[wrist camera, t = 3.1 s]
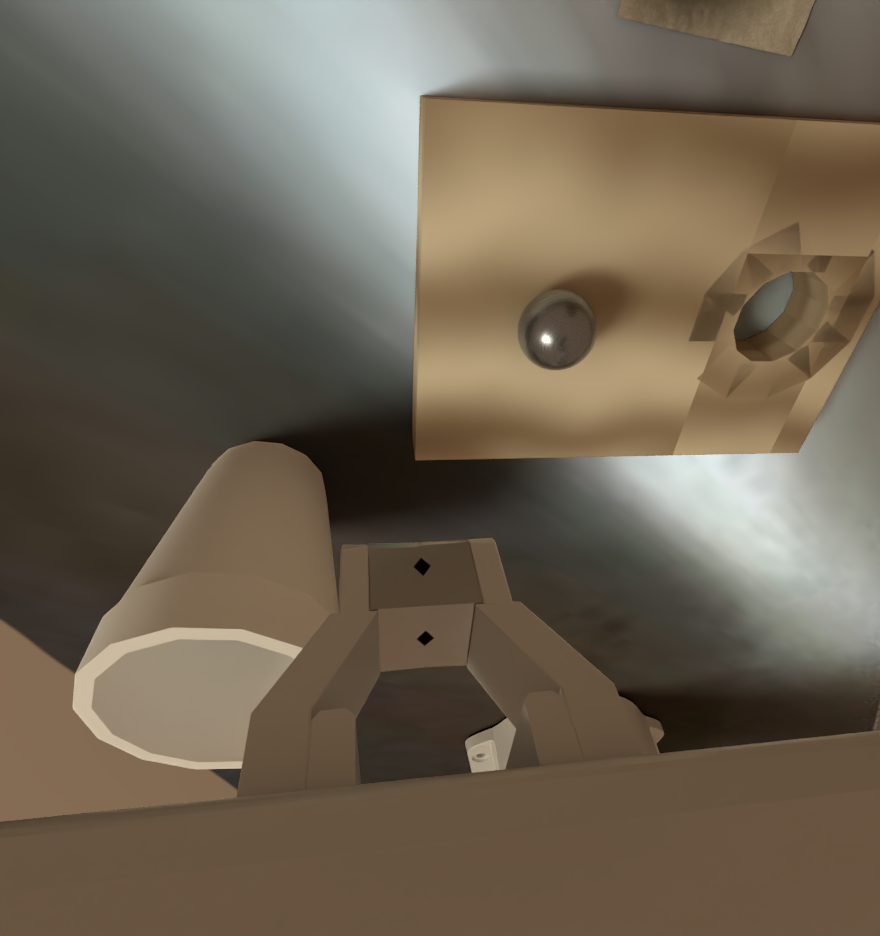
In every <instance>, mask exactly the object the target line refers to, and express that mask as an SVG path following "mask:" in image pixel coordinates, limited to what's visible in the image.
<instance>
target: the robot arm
mask: <svg viewBox="0 0 880 936" xmlns="http://www.w3.org/2000/svg"><path fill="white" fill-rule="evenodd" d="M458 665H467V668H468V669H469V670H470V672H471V673H472V674H473V675H474V677H475V678H476V679H477V680H478V682H479V683H480V684H481V686H482V687H483V688H484V689H485V691H486V692H487V693H488V694H489V696H490V697H491V698H492V699H493V701H494V702H495V703H496V704H497V706H498V707H499V708H500V709H501V711H502V712H503V713H504V714H505V716H506V717H507V718H506V719H505V720H503V721H502V722H501V723H499V724H498V725H496V726H495V727H493V728H490V729H488V730H485V731H483V732H480V733H478V734H475V735H473V736H471V737H469V738H468V739H467V740H466V741H465V746H466V750H467V755H468V759H469V763H470V767H471V771H472V773H466V774H456V775H446V776H437V777H427V778H418V779H408V780H398V781H389V782H379V783H370V784H360V771H359V758H358V745H357V732H356V717H357V716H358V714H359V712H360V710H361V708H362V707H363V705H364V703H365V701H366V699H367V697H368V696H369V694H370V692H371V690H372V688H373V687H374V685H375V683H376V681H377V679H378V677H379V676H380V672H383V671H392V670H402V669H411V668H421V667H438V666H458ZM663 736H664V731H663V728H662V725H661V723H660V722H659V721H658V720H656V719H653V718H650V717H647V716H644V715H643V714H642V713H641V712H640V710H639V709H638V708H637V706H636V705H635V704H634V703H632V702H631V701H629V700H627V699H625V698H623V697H620V696H619V695H618V692H617V690H616V687H615V685H614V683H613V682H611V681H610V680H609V679H608V678H607V677H606V676H605V675H603V674H602V673H601V672H600V671H599V670H598V669H597V668H595V667H594V666H593V665H592V664H591V663H590V662H589V661H587V660H586V659H585V658H584V657H583V656H582V655H581V654H579V653H578V652H577V651H576V650H575V649H574V648H572V647H571V646H570V645H569V644H568V643H567V642H566V641H564V640H563V639H562V638H561V637H560V636H559V635H558V634H556V633H555V632H554V631H553V630H552V629H551V628H550V627H548V626H547V625H546V624H545V623H544V622H543V621H542V620H540V619H539V618H538V617H537V616H536V615H535V614H534V613H532V612H531V611H530V610H529V609H528V608H527V607H526V606H524V605H523V604H522V603H521V602H512V598H511V595H510V591H509V588H508V584H507V581H506V578H505V574H504V571H503V567H502V564H501V560H500V557H499V553H498V550H497V546H496V543H495V541H494V540H493V539H492V538H483V539H468V540H450V541H432V542H418V543H385V544H369V551H368V545H342V548H341V559H340V585H339V612H338V613H332V614H330V615H329V616H328V618H327V619H326V620H325V621H324V623H323V624H322V625H321V626H320V628H319V629H318V630H317V631H316V633H315V634H314V635H313V636H312V638H311V639H310V640H309V641H308V643H307V644H306V645H305V646H304V648H303V649H302V650H301V651H300V653H299V654H298V655H297V656H296V658H295V659H294V660H293V662H292V663H291V664H290V665H289V667H288V668H287V669H286V670H285V672H284V673H283V674H282V675H281V677H280V678H279V679H278V680H277V682H276V683H275V684H274V685H273V687H272V688H271V689H270V690H269V692H268V693H267V694H266V695H265V697H264V698H263V699H262V700H261V702H260V703H259V704H258V705H257V707H256V708H255V709H254V711H253V712H252V713H251V716H250V722H249V728H248V734H247V739H246V745H245V751H244V757H243V763H242V769H241V774H240V780H239V786H238V792H237V797H236V798H225V799H216V800H206V801H197V802H187V803H177V804H168V805H158V806H148V807H139V808H129V809H120V810H110V811H101V812H91V813H81V814H72V815H62V816H52V817H43V818H33V819H23V820H14V821H4V822H0V936H880V731H871V732H861V733H852V734H842V735H833V736H823V737H813V738H804V739H794V740H785V741H775V742H765V743H756V744H746V745H737V746H727V747H717V748H708V749H698V750H689V751H679V752H669V753H659V750H658V747H657V743H658V742H659V741H660V739H661V738H662V737H663Z"/></svg>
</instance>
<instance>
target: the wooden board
mask: <svg viewBox="0 0 880 936" xmlns="http://www.w3.org/2000/svg"><path fill="white" fill-rule="evenodd" d="M788 272H792V274H793V286H794V290H793V292H792V295H791V297H790V299H789V302H788V304H787V306H786V308H785V311H784V312H783V313H782V314H781V315H780V316H779V317H778V318H777V319H776V320H775V321H774V322H773V323H772V324H771V325H770V327H769V328H768V329H767V330H765V331H763V332H761V333H759V334H757V335H755V336H753V337H750V338H748V339H746V340H744V341H739V340H735V337H734V331H733V330H734V328H735V325H736V322H737V320H738V317H739V315H740V312H741V310H742V307H743V305H744V304H745V303H746V302H747V301H748V300H749V299H750V298H751V297H752V296H753V295H754V294H755V293H756V292H757V291H758V290H759V288H760V287H761V286H762V285H763V284H765V283H767V282H769V281H771V280H773V279H775V278H777V277H779V276H782V275H784V274H786V273H788ZM559 289H562V290H569V291H572V292H575V293H577V294H579V295H581V296H582V297H583V298H584V299H586V300H587V301H588V302H589V304H590V305H591V307H592V308H593V310H594V312H595V315H596V318H597V323H598V333H597V338H596V341H595V344H594V346H593V348H592V350H591V351H590V353H589V354H588V355H587V356H586V358H585V359H583V360H582V361H581V362H580V363H578V364H577V365H575V366H573V367H571V368H568V369H564V370H547V369H543V368H541V367H538V366H536V365H535V364H533V363H532V362H531V361H530V360H529V359H528V358H527V357H526V356H525V355H524V353H523V352H522V350H521V347H520V345H519V341H518V333H517V329H518V323H519V319H520V316H521V314H522V312H523V310H524V309H525V307H526V306H527V305H528V304H529V303H530V302H531V301H532V300H533V299H534V298H535V297H537V296H538V295H540V294H542V293H544V292H547V291H550V290H559ZM879 302H880V123H877V122H860V121H843V120H826V119H809V118H792V117H775V116H758V115H741V114H724V113H707V112H690V111H673V110H656V109H639V108H622V107H605V106H588V105H571V104H554V103H537V102H520V101H503V100H486V99H469V98H451V97H434V96H420V123H419V164H418V205H417V246H416V288H415V329H414V370H413V411H412V438H413V446H414V455H415V460H458V459H508V458H557V457H606V456H655V455H705V454H754V453H798V452H799V450H800V448H801V446H802V445H803V443H804V441H805V439H806V437H807V435H808V433H809V432H810V430H811V428H812V426H813V424H814V422H815V421H816V419H817V417H818V415H819V413H820V411H821V409H822V408H823V406H824V404H825V402H826V400H827V398H828V396H829V395H830V393H831V391H832V389H833V387H834V385H835V383H836V382H837V380H838V378H839V376H840V374H841V372H842V370H843V369H844V367H845V365H846V363H847V361H848V359H849V358H850V356H851V354H852V352H853V350H854V348H855V346H856V345H857V343H858V341H859V339H860V337H861V335H862V333H863V332H864V330H865V328H866V326H867V324H868V322H869V320H870V319H871V317H872V315H873V313H874V311H875V309H876V307H877V306H878V304H879Z"/></svg>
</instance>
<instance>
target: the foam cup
mask: <svg viewBox="0 0 880 936" xmlns="http://www.w3.org/2000/svg"><path fill="white" fill-rule="evenodd" d="M338 612H339V609H338V600H337V591H336V581H335V572H334V562H333V553H332V544H331V534H330V525H329V516H328V506H327V498H326V491H325V487H324V482H323V477H322V473H321V472H320V470H319V469H318V468H317V467H316V466H315V465H314V464H313V462H312V461H311V460H310V459H309V458H308V457H307V456H306V455H305V454H303V453H301V452H299V451H297V450H294V449H292V448H290V447H288V446H286V445H284V444H282V443H271V442H259V441H252V442H249V443H246V444H242V445H239V446H236V447H232V448H229V449H228V450H227V451H226V452H225V453H224V454H223V455H221V456H220V457H219V458H218V459H217V460H216V461H215V462H214V463H213V464H212V467H211V468H210V469H209V470H208V471H207V472H206V474H205V475H204V477H203V478H202V480H201V481H200V483H199V484H198V486H197V487H196V489H195V490H194V492H193V493H192V495H191V496H190V498H189V499H188V501H187V502H186V504H185V505H184V507H183V508H182V510H181V511H180V513H179V514H178V516H177V517H176V519H175V520H174V522H173V523H172V525H171V526H170V528H169V529H168V531H167V532H166V534H165V535H164V537H163V538H162V539H161V541H160V542H159V544H158V545H157V547H156V548H155V550H154V551H153V553H152V554H151V556H150V557H149V559H148V560H147V562H146V563H145V565H144V566H143V568H142V569H141V571H140V572H139V574H138V575H137V577H136V578H135V580H134V581H133V583H132V584H131V586H130V587H129V589H128V590H127V592H126V593H125V595H124V596H123V598H122V599H121V601H120V602H119V603H118V604H117V605H115V606H114V607H113V608H112V609H111V610H110V611H109V612H108V613H106V614H105V615H104V616H103V618H102V620H101V622H100V624H99V626H98V628H97V630H96V632H95V634H94V636H93V638H92V640H91V642H90V644H89V646H88V649H87V651H86V653H85V655H84V657H83V659H82V661H81V663H80V665H79V667H78V669H77V671H76V673H75V683H74V694H73V706H72V708H73V710H74V711H75V712H76V713H77V714H78V716H79V717H80V718H81V719H82V720H83V721H84V723H85V724H86V725H87V726H88V727H89V729H90V730H91V731H92V732H93V733H94V734H95V736H96V737H97V738H98V739H100V740H102V741H104V742H106V743H109V744H111V745H113V746H115V747H117V748H119V749H121V750H123V751H125V752H127V753H130V754H132V755H134V756H136V757H138V758H140V759H143V760H148V761H153V762H158V763H164V764H170V765H174V766H180V767H186V768H191V769H232V768H242V763H243V757H244V751H245V745H246V739H247V734H248V728H249V722H250V716H251V713H252V712H253V711H254V709H255V708H256V707H257V705H258V704H259V703H260V702H261V700H262V699H263V698H264V697H265V695H266V694H267V693H268V692H269V690H270V689H271V688H272V687H273V685H274V684H275V683H276V682H277V680H278V679H279V678H280V677H281V675H282V674H283V673H284V672H285V670H286V669H287V668H288V667H289V665H290V664H291V663H292V662H293V660H294V659H295V658H296V656H297V655H298V654H299V653H300V651H301V650H302V649H303V648H304V646H305V645H306V644H307V643H308V641H309V640H310V639H311V638H312V636H313V635H314V634H315V633H316V631H317V630H318V629H319V628H320V626H321V625H322V624H323V623H324V621H325V620H326V619H327V618H328V616H329V615H330V614H332V613H338Z"/></svg>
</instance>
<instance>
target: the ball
mask: <svg viewBox="0 0 880 936" xmlns="http://www.w3.org/2000/svg"><path fill="white" fill-rule="evenodd" d="M517 333H518V341H519V345H520V347H521V350H522V352H523V353H524V355H525V356H526V357H527V358H528V359H529V360H530V361H531V362H532V363H533V364H535V365H536V366H538V367H541V368H543V369H547V370H564V369H568V368H571V367H573V366H575V365H577V364H578V363H580V362H581V361H582V360H583V359H585V358H586V356H587V355H588V354H589V353H590V351H591V350H592V348H593V346H594V344H595V341H596V338H597V333H598V323H597V318H596V315H595V312H594V310H593V308H592V307H591V305H590V304H589V302H588V301H587V300H586V299H584V298H583V297H582V296H581V295H579V294H577V293H575V292H572V291H569V290H562V289H559V290H550V291H547V292H544V293H542V294H540V295H538V296H537V297H535V298H534V299H533V300H532V301H531V302H530V303H529V304H528V305H527V306H526V307H525V309H524V310H523V312H522V314H521V316H520V319H519V323H518V329H517Z"/></svg>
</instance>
